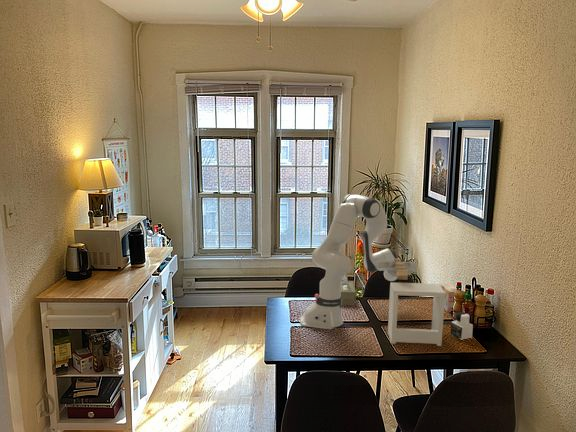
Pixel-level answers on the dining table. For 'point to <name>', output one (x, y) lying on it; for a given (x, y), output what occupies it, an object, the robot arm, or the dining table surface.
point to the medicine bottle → (461, 326)
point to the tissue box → (348, 292)
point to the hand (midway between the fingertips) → (398, 262)
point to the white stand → (437, 316)
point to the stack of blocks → (448, 296)
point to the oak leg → (400, 269)
